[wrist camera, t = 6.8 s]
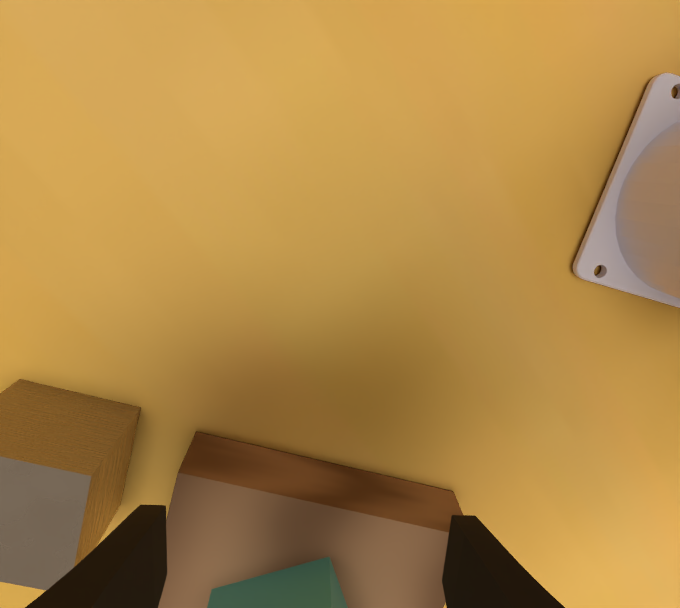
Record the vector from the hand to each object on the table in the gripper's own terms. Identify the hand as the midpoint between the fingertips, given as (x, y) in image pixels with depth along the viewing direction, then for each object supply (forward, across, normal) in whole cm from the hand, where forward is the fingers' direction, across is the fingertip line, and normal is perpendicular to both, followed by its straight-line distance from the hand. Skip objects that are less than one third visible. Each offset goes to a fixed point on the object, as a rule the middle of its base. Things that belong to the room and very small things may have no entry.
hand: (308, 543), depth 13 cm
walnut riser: (+9, 0, +10) cm, 13 cm away
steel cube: (+9, +10, +3) cm, 14 cm away
